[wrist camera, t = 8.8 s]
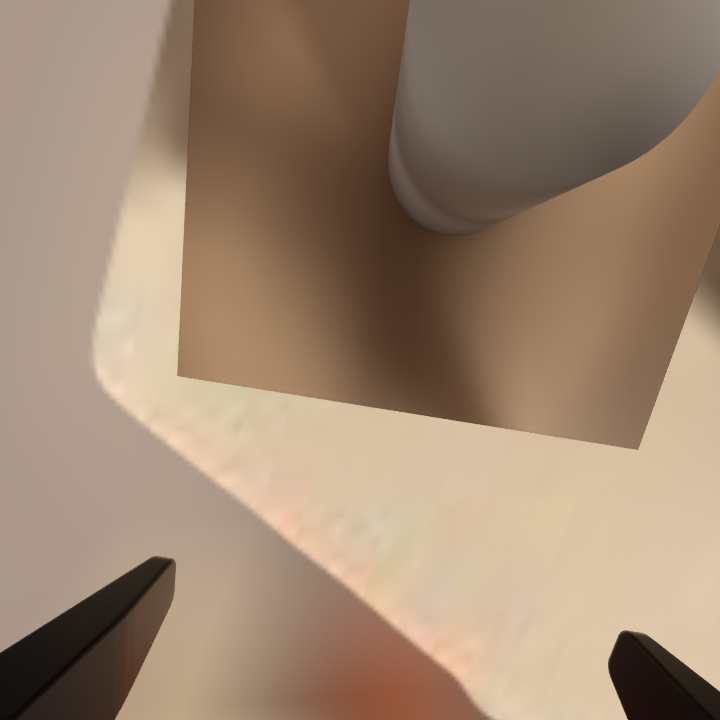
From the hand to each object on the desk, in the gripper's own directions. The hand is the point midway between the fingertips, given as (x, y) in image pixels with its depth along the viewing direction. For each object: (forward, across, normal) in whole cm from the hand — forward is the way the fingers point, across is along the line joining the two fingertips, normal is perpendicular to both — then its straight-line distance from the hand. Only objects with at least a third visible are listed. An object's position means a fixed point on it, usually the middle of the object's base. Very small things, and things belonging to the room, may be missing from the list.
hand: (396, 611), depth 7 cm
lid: (+4, 0, -9) cm, 10 cm away
